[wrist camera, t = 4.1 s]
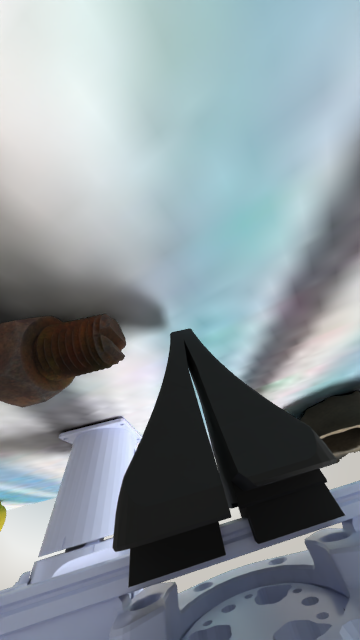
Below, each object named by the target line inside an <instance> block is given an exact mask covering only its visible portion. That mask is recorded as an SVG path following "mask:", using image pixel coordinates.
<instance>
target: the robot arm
mask: <svg viewBox="0 0 360 640" xmlns="http://www.w3.org/2000/svg"><path fill="white" fill-rule="evenodd" d="M188 368H189V369H188ZM189 371H190V373H191V376H192V379H193V382H194V385H195V387H196V390H197V393H198V396H199V399H200V402H201V405H202V409H203V413H204V417H205V420H206V424H207V428H208V432H209V436H210V440H211V444H212V447H213V451H214V455H215V459H216V462H215V459H214V455H213V452H212V449H211V445H210V442H209V439H208V435H207V432H206V429H205V425H204V422H203V419H202V415H201V412H200V408H199V405H198V402H197V398H196V395H195V391H194V388H193V384H192V381H191V377H190V373H189ZM59 439H61V440H63V441H66V442H68V443H70V444H73V446H72V449H71V453H70V456H69V459H68V462H67V466H66V469H65V472H64V475H63V479H62V482H61V485H60V488H59V491H58V495H57V498H56V501H55V504H54V508H53V511H52V514H51V517H50V521H49V524H48V527H47V530H46V534H45V537H44V540H43V543H42V547H41V550H40V553H39V556H38V557H40V556H43V555H47V554H50V553H53V552H57V551H60V550H63V549H66V550H65V553H61V554H58V555H55V556H52V557H49V558H46V559H42V560H40V561H36V562H35V563H34V566H33V569H32V572H31V575H30V571H29V572H25V573H23V574H22V575H21V576H20V578H19V581H18V582H16V584H15V585H14V586H13V587H11V588H8V589H5V590H2V591H0V640H360V481H357V482H353V483H351V484H347V485H344V486H341V487H338V488H334V489H331V490H329V489H328V488H327V486H326V485H325V483H326V482H327V480H326V478H325V477H324V475H323V474H322V472H321V471H320V468H323V467H326V466H329V465H332V464H335V463H337V458H336V457H335V456H334V454H333V453H332V452H331V451H330V449H329V448H328V447H327V445H326V444H325V443H324V442H323V440H322V439H321V438H320V437H319V436H318V435H317V434H316V433H315V431H314V430H313V429H312V428H311V427H310V426H308V425H307V424H305V423H303V422H302V421H300V420H299V419H297V418H295V417H294V416H292V415H290V414H289V413H287V412H286V411H284V410H283V409H281V408H279V407H278V406H276V405H275V404H273V403H272V402H270V401H269V400H267V399H266V398H264V397H263V396H262V395H260V394H259V393H258V392H256V391H255V390H253V389H252V388H251V387H249V386H248V385H246V384H245V383H244V382H243V381H241V380H240V379H239V378H238V377H236V376H235V375H234V374H233V373H232V372H230V371H229V370H228V369H227V368H226V367H225V366H224V365H222V364H221V363H220V362H219V361H218V360H217V359H216V358H215V357H214V356H213V355H212V354H211V353H210V352H209V351H208V349H207V348H206V347H205V346H204V345H203V344H202V343H201V342H200V340H199V339H198V338H197V337H196V335H195V334H194V332H193V331H192V329H185V330H180V331H176V332H172V333H171V334H170V351H169V357H168V363H167V367H166V371H165V375H164V379H163V383H162V386H161V389H160V392H159V395H158V398H157V401H156V404H155V407H154V409H153V412H152V415H151V417H150V419H149V422H148V424H147V427H146V429H145V431H144V434H143V436H141V435H140V434H139V433H138V432H137V431H136V430H135V429H134V428H133V427H132V426H131V425H130V424H129V423H128V422H127V421H126V420H125V419H123V418H119V419H115V420H111V421H107V422H103V423H99V424H96V425H92V426H88V427H84V428H80V429H76V430H72V431H68V432H64V433H61V434H60V435H59ZM139 442H140V443H139ZM137 443H139V445H138V447H137ZM216 463H217V465H216ZM217 467H218V468H217ZM218 471H219V472H218ZM235 507H239V510H240V513H241V517H242V518H240V519H237V520H233V521H230V522H227V523H224V524H221V525H219V522H218V521H221V520H224V519H227V518H231V514H230V510H229V508H235ZM340 522H342V525H343V529H337V528H328V529H322V528H325V527H328V526H331V525H334V524H337V523H340ZM319 529H322V530H319ZM316 530H319V531H317V532H315V533H314V534H312V535H311V536H310V537H308V538H306V539H305V544H306V546H307V549H308V550H306V551H302V552H298V553H293V554H289V555H285V556H280V557H276V558H272V559H267V560H263V561H259V562H255V563H252V564H248V565H245V566H242V567H239V568H236V569H233V570H231V571H228V572H225V573H223V574H220V575H218V576H216V577H213V578H211V579H209V580H207V581H205V582H202V583H200V584H198V585H196V586H194V587H191V588H189V589H187V590H185V591H183V592H181V593H177V585H176V583H175V582H169V583H161V582H164V581H167V580H170V579H173V578H176V577H179V576H182V575H185V574H188V573H191V572H194V571H197V570H200V569H203V568H206V567H209V566H212V565H215V564H218V563H221V562H224V561H227V560H230V559H233V558H236V557H239V556H242V555H245V554H248V553H251V552H254V551H257V550H259V549H262V548H266V547H269V546H272V545H275V544H277V543H280V542H283V541H286V540H290V539H293V538H296V537H298V536H302V535H305V534H308V533H310V532H314V531H316ZM113 534H114V536H113V538H110V539H106V540H103V539H104V537H106V536H109V535H113ZM29 576H30V578H29ZM146 587H147V588H146ZM143 588H145V589H144V590H143Z"/></svg>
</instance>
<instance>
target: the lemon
mask: <svg viewBox="0 0 360 640" xmlns="http://www.w3.org/2000/svg"><path fill="white" fill-rule="evenodd" d="M5 518H6V509H5V507H4V506H2V505H1V502H0V531H1V529H2V527H3V525H4V522H5Z"/></svg>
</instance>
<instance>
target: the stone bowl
mask: <svg viewBox="0 0 360 640" xmlns="http://www.w3.org/2000/svg"><path fill="white" fill-rule="evenodd" d="M300 421H302V422H303V423H305V424H307V425H308V426H310V427H311V428H312V429H313V430H314V431H315V433H316V434H317V435H318V436H319V437H320V438H321V439H322V440H323V442H324V443H325V444H326V445H327V447H328V448H329V449H330V451H331V452H332V453H333V454H334V456H335V457H336V458H337V463H338V462H339V459H341V458H342V457H344V456H346V455H347V454H348V453H351V452H354V453H355V452H357V451H360V391H355V392H353V394H351V395H343V396H332V397H329V398H327V399H325V401H324V402H321V403H318V404H317V405H315V406H313V407H311V408H308V409H307V410H306V411H305V414H304V416H303V417H302V418H301V420H300Z"/></svg>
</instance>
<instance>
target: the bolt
mask: <svg viewBox="0 0 360 640" xmlns="http://www.w3.org/2000/svg"><path fill="white" fill-rule="evenodd" d="M125 345H126V341H125V337H124V335H123V332H122V330H121V328H120V326H119V324H118V322H117V321H116V320H115V319H113V318H111V317H110V316H109V315H107V314H103V315H97V316H92V317H87V318H85V319H84V318H82V319H80V320H78V319H77V320H74V321H68V322H64V323H63V322H62V321H61V320H59V319H57V318H55V317H53V316H42V317H35V318H28V319H21V320H15V321H10V322H5V323H1V324H0V401H2V402H5V403H8V404H11V405H16V406H20V407H26V406H30V405H34V404H38V403H42V402H45V401H47V400H49V399H50V398H52V397H53V396H55V395H56V394H58V393H60V392H61V391H62V390H63V389H65V388H66V387H67V386H68V385H69V384H70V383H71V382H72V381H73V379H74V378H75V376H79V375H81V374H86V373H91V372H93V371H98V370H103V369H105V368H110V367H111V366H112V365H114V364H118V362H119V361H122V360H123V359H124V357H125V355H124V354H123V353H122V352H121V350H122V349H123V348H124V347H125Z"/></svg>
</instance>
